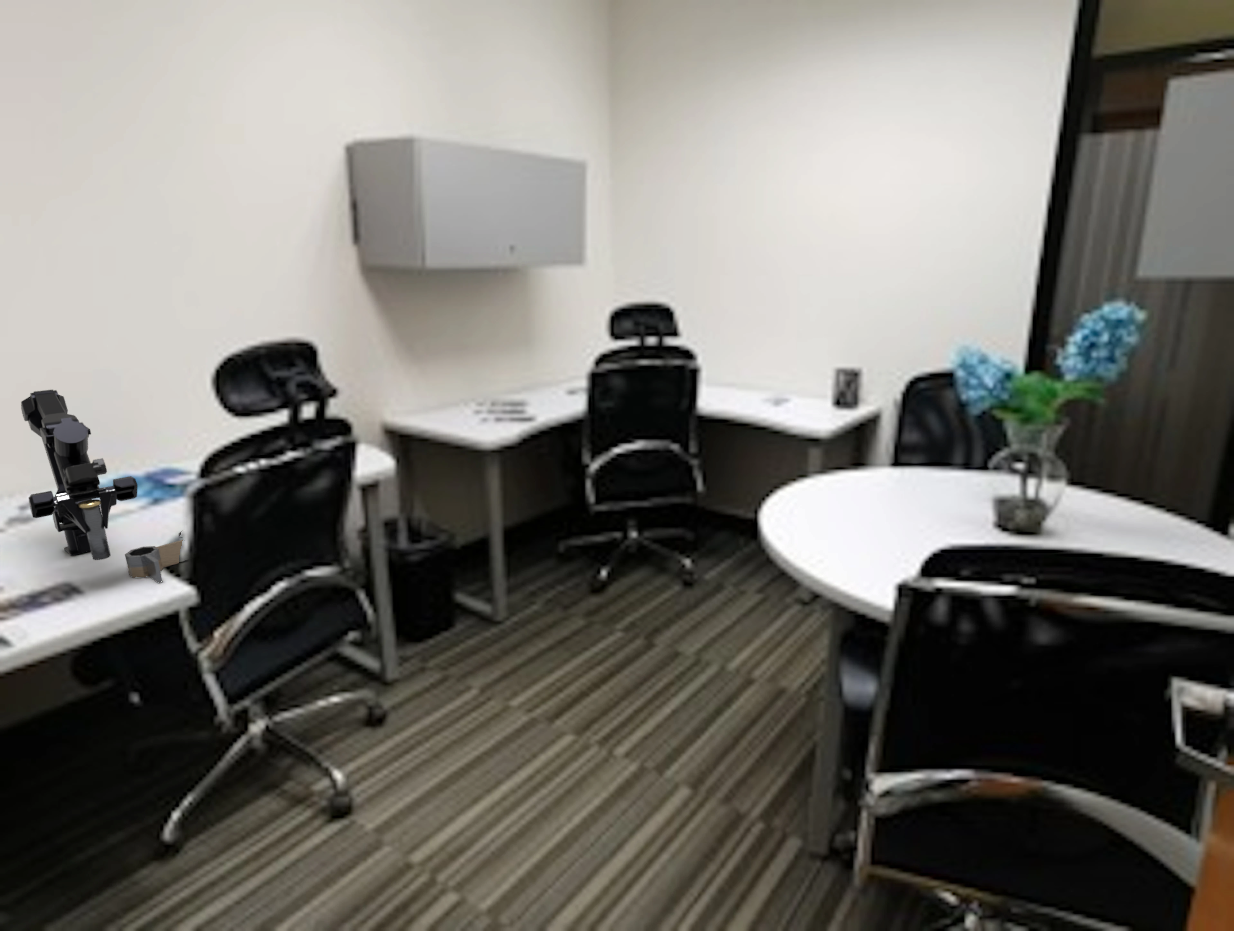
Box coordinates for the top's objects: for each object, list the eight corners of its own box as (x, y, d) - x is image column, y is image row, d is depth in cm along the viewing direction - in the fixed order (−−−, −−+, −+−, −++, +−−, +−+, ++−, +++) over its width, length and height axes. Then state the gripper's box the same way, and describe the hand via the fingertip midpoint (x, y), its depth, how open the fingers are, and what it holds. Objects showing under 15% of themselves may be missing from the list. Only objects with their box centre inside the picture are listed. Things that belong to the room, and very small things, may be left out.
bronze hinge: (126, 572, 166) (122, 552, 164) (182, 556, 174) (178, 536, 173) (145, 587, 158) (140, 566, 157) (202, 569, 167) (198, 549, 165)
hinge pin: (87, 557, 157) (75, 503, 153) (107, 551, 160) (95, 498, 156) (95, 561, 154) (82, 506, 151) (115, 555, 157) (103, 501, 154)
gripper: (18, 457, 147) (38, 522, 142) (126, 440, 159) (148, 500, 155) (22, 485, 155) (42, 548, 150) (125, 467, 167) (146, 525, 162)
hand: (96, 529), depth 154 cm, fingers closed on hinge pin, 3 cm apart
